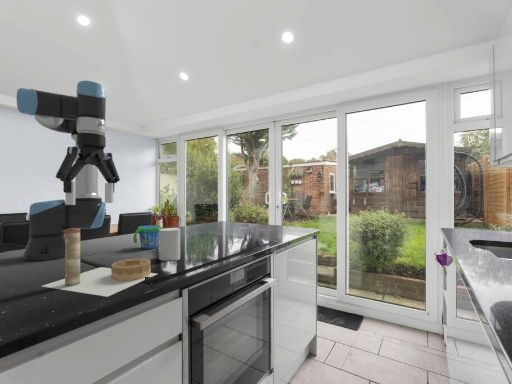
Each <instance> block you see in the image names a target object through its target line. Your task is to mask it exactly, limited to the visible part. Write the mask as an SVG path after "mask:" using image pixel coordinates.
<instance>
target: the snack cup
mask: <svg viewBox="0 0 512 384" xmlns="http://www.w3.org/2000/svg"><path fill="white" fill-rule="evenodd" d="M159 229H164V228H163V227H162V226H161V225H150V224H149V225H143V226H142V225H141V226H138V227H137V229H136V230H135V231H134V234H133V241H132V242H133V243H134V244H137V243H138V238H137V235H138V236H139V241H140V248H141V249H143V250H144V249H145V250H152V249H157V248H159Z"/></svg>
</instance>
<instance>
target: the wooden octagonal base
mask: <svg viewBox="0 0 512 384" xmlns="http://www.w3.org/2000/svg"><path fill="white" fill-rule="evenodd" d="M151 261H152V260H150V259H148V258H128V259H121V260H118V261H114V262H113V263H112V264H111V267H110V268H111V278H112V279H113V280H116V281H133V280H138V279H142V278H145V277H147V276H149V275H150V273H152V272H151V271H152V270H151Z"/></svg>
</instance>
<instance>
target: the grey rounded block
mask: <svg viewBox="0 0 512 384" xmlns="http://www.w3.org/2000/svg"><path fill="white" fill-rule="evenodd" d="M180 259H181V228H179V227H167V228H166V227H164V228H163V229H159V243H158V260H160V261H165V262H166V261H169V262H170V261H179V260H180Z"/></svg>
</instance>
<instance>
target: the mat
mask: <svg viewBox="0 0 512 384" xmlns="http://www.w3.org/2000/svg"><path fill="white" fill-rule="evenodd" d="M157 275H158V273H156V272H155V273H154V272H151V273H150V275H149V276H147V277H150V278H153V277H154V276H157ZM143 281H145V278H142V279H138V280H133V281H116V280H113V279H112V278H111V267H104V266H103V267H101V266H100V267H96V268H94V269H90V270H86V271H84V272H82V273H81V272H80V284H78V285H75V286H65V278H63V279H59V280H56V281H53V282H50V283H46V284H44V285H41V287H43V288H50V289H57V290H63V291H68V292H75V293H80V294H81V293H82V294H87V295H94V296H100V297H106V298H109V297H110V296H112V295H115V294H117V293H118V292H121V291H123V290H126V289H128V288H130V287H132V286H134V285H136V284H138V283H141V282H143Z"/></svg>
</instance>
